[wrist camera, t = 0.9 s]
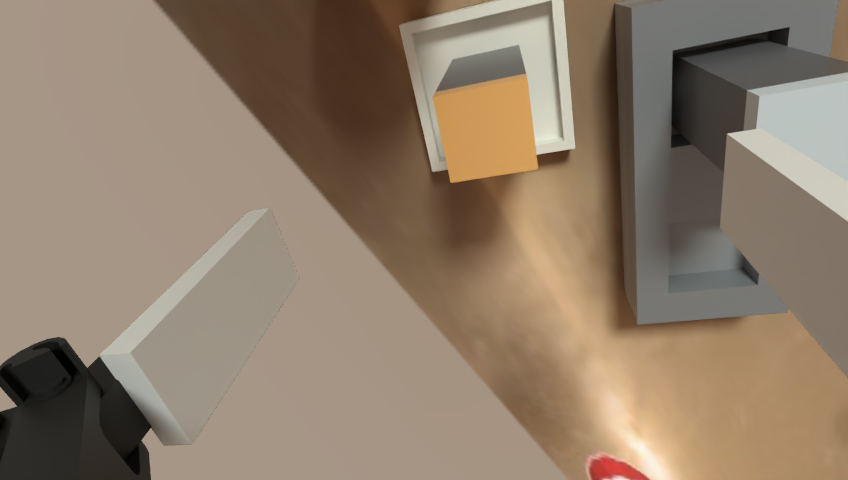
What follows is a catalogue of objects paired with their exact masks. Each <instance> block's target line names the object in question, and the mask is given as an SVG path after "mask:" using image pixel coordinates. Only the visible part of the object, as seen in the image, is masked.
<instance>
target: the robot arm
mask: <svg viewBox="0 0 848 480" xmlns="http://www.w3.org/2000/svg"><path fill="white" fill-rule="evenodd" d="M720 228H721V230H722V231H723V232H724V233H725V234H726V236H727V237H728V238H729V239H730V240H731V241H732V243H733V244H734V245H735V246H736V247H737V248H738V250H739V251H740V252H741V253H742V254H743V255H744V257H745V258H746V259H747V260H748V261H749V263H750V264H751V265H752V266H753V267H754V268H755V270H756V271H757V272H758V273H759V274H760V275H761V277H762V278H763V279H764V280H765V281H766V283H767V284H768V285H769V286H770V287H771V288H772V290H773V291H774V292H775V293H776V294H777V295H778V297H779V298H780V299H781V300H782V301H783V302H784V304H785V305H786V306H787V307H788V308H789V310H790V311H791V312H792V313H793V314H794V315H795V317H796V318H797V319H798V320H799V321H800V322H801V324H802V325H803V326H804V327H805V328H806V330H807V331H808V332H809V333H810V334H811V335H812V337H813V338H814V339H815V340H816V341H817V342H818V344H819V345H820V346H821V347H822V348H823V349H824V351H825V352H826V353H827V354H828V355H829V357H830V358H831V359H832V360H833V361H834V362H835V364H836V365H837V366H838V367H839V368H840V369H841V371H842V372H843V373H844V374H845V375H846V377H847V378H848V181H846V180H845V179H843V178H841V177H840V176H838V175H836V174H835V173H833V172H831V171H830V170H828V169H827V168H825V167H823V166H822V165H820V164H818V163H817V162H815V161H813V160H812V159H810V158H809V157H807V156H805V155H804V154H802V153H800V152H799V151H797V150H795V149H794V148H792V147H791V146H789V145H787V144H786V143H784V142H782V141H781V140H779V139H777V138H776V137H774V136H773V135H771V134H769V133H768V132H766V131H764V130H763V129H761V128H759V129H753V130H747V131H741V132H734V133H728V134H727V139H726V152H725V166H724V179H723V193H722V206H721V219H720ZM298 280H299V276H298V274H297V271H296V269H295V266H294V264H293V262H292V259H291V257H290V254H289V252H288V250H287V247H286V245H285V242H284V240H283V238H282V235H281V233H280V231H279V228H278V226H277V223H276V221H275V218H274V216H273V214H272V211H271V209H270V208H264V209H258V210H251V211H248V212H247V213H246V214H245V215H244V216H243V217H242V218H241V219H240V220H239V221H238V222H237V223H236V224H235V225H234V226H233V227H232V228H231V229H230V230H229V231H228V232H226V233H225V234H224V235H223V236H222V237H221V238H220V239H219V240H218V241H217V242H216V243H215V244H214V245H213V246H212V247H211V248H210V249H209V250H208V251H207V252H206V253H205V254H204V255H203V256H202V257H201V258H199V259H198V261H197V262H195V263H194V264H193V265H192V266H191V267H190V268H189V269H188V270H187V271H186V272H185V273H184V274H183V275H182V276H181V277H180V278H179V279H178V280H177V281H176V282H175V283H174V284H173V285H172V286H170V287H169V288H168V290H166V291H165V293H163V294H162V295H161V296H160V297H159V298H158V299H157V300H156V301H155V302H154V303H153V304H152V305H151V306H150V307H149V308H148V309H147V310H146V311H145V312H144V313H143V314H142V315H140V317H138V318H137V319H136V320H135V321H134V322H133V323H132V324H131V325H130V326H129V327H128V328H127V329H126V330H125V331H124V332H123V333H122V334H121V335H120V336H119V337H118V338H117V339H116V340H115V341H114V342H112V343H111V344H110V345H109V346H108V347H107V348H106V349H105V350H104V351H103V352H102V353H101V354H100V355H99V357H98V358H97V359H96V360H95V361H94V362H93V363H92V364H91V365H90V366H89V367H88V368H87V367H86V366H85V365H84V364H83V362H82V361H81V359H80V358H79V357H78V355H77V354H76V353H75V351H74V350H73V349H72V347H71V346H70V345H69V343H68V342H67V341H66V340H65V339H64V338H60V337H57V338H51V339H47V340H44V341H41V342H38V343H36V344H34V345H31V346H29V347H28V348H26V349H24V350H22V351H20V352H18V353H17V354H15V355H14V356H12V357H11V358H9V359H8V360H6V361H5V362H4V363H3V364H2V365H1V366H0V387H1V388H2V389H3V390H4V392H5V393H6V394H7V395H8V396H9V397H10V398H11V399H12V401H13V402H14V403H15V404H16V405H17V407H14V408H12V409H8V410H5V411H2V412H0V480H151V475H150V462H149V452H148V450H147V448H146V446H145V445H144V444H143V442H142V441H141V440H142V438H143V437H144V436H145V434H146V433H147V432H148V431H149V429H150V428H152V430H153V431H154V432H155V434H156V435H157V437H158V438H159V439H160V441H161V442H162V444H163V445H192V444H193V443H194V441H195V440H196V438H197V437H198V435H199V433H200V432H201V430H202V429H203V427H204V426H205V424H206V423H207V421H208V420H209V418H210V416H211V415H212V413H213V412H214V410H215V409H216V407H217V406H218V404H219V403H220V401H221V399H222V398H223V396H224V395H225V393H226V392H227V390H228V388H229V387H230V385H231V384H232V382H233V381H234V379H235V378H236V376H237V374H238V373H239V372H240V370H241V368H242V367H243V365H244V363H245V362H246V361H247V359H248V358H249V356H250V355H251V353H252V351H253V350H254V348H255V347H256V345H257V344H258V342H259V341H260V339H261V338H262V336H263V334H264V333H265V331H266V330H267V328H268V327H269V325H270V324H271V322H272V320H273V319H274V317H275V316H276V314H277V313H278V311H279V310H280V308H281V307H282V305H283V303H284V302H285V300H286V299H287V297H288V296H289V294H290V293H291V291H292V289H293V288H294V286H295V285H296V283H297V282H298Z"/></svg>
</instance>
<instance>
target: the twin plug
mask: <svg viewBox="0 0 848 480" xmlns="http://www.w3.org/2000/svg"><path fill="white" fill-rule="evenodd" d="M671 126H673V127H674V128H675V129H676V130H677V131H678V132H679V133H680V134H681V135H682V136H684V137H685V138H686V139H687V140H688V141H689V142H690V143H691V144H692V145H694V146H695V147H696V148H697V149H698V150H699V151H700V152H701V153H702V154H703V155H705V156H706V157H707V158H708V159H709V160H710V161H711V162H712V163H713V164H715V165H716V166H717V167H718V168H719V169H720V170H721V171H722V172H723V173H724V166H725V152H726V139H727V134H728V133H734V132H741V131H747V130H753V129H759V128H761V129H763V130H764V131H766V132H768V133H769V134H771V135H773V136H774V137H776V138H777V139H779V140H781V141H782V142H784V143H786V144H787V145H789V146H791V147H792V148H794V149H795V150H797V151H799V152H800V153H802V154H804V155H805V156H807V157H809V158H810V159H812V160H813V161H815V162H817V163H818V164H820V165H822V166H823V167H825V168H827V169H828V170H830V171H831V172H833V173H835V174H836V175H838V176H840V177H841V178H843V179H845V180H846V181H848V62H845V61H842V60H838V59H834V58H830V57H826V56H823V55H819V54H815V53H811V52H807V51H804V50H800V49H796V48H792V47H788V46H785V45H781V44H777V43H773V42H769V41H766V40H762V39H758V38H751V39H746V40H741V41H736V42H731V43H726V44H722V45H717V46H712V47H707V48H702V49H697V50H692V51H687V52H682V53H677V54H673V67H672V122H671Z"/></svg>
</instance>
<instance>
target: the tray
mask: <svg viewBox="0 0 848 480" xmlns="http://www.w3.org/2000/svg"><path fill="white" fill-rule="evenodd" d="M399 29H400V33H401V37H402V42H403V46H404V50H405V55H406V59H407V63H408V68H409V72H410V76H411V81H412V85H413V89H414V94H415V98H416V102H417V107H418V111H419V115H420V120H421V124H422V128H423V133H424V137H425V142H426V146H427V150H428V155H429V159H430V163H431V168H432V172H436V171H442V170H448V168H447V163H446V159H445V154H444V149H443V145H442V140H441V135H440V131H439V126H438V121H437V116H436V112H435V107H434V102H433V98H432V97H433V95H434V93H435V92H436V90H437V88H438V86H439V84H440V82H441V80H442V78H443V76H444V75H445V73H446V71H447V69H448V67H449V65H450V63H451V61H452V59H457V58H461V57H466V56H470V55H475V54H479V53H484V52H488V51H493V50H498V49H502V48H507V47H511V46H516V45H519V47H520V51H521V55H522V59H523V63H524V67H525V71H526V75H527V79H528V87H529V96H530V104H531V113H532V121H533V129H534V138H535V146H536V154H537V155H538V154H544V153H550V152H556V151H562V150H568V149H575V141H574V128H573V116H572V103H571V90H570V78H569V65H568V53H567V40H566V28H565V15H564V2H563V0H494V1H490V2H486V3H482V4H478V5H474V6H470V7H466V8H461V9H457V10H453V11H449V12H445V13H441V14H437V15H433V16H429V17H424V18H420V19H416V20H412V21H408V22H404V23H402V24H400V25H399Z"/></svg>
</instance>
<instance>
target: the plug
mask: <svg viewBox="0 0 848 480" xmlns="http://www.w3.org/2000/svg"><path fill="white" fill-rule="evenodd" d="M432 98H433V102H434V107H435V112H436V116H437V121H438V126H439V131H440V135H441V140H442V145H443V149H444V154H445V159H446V163H447V168H448V173H449V177H450V182H451V183H454V182H461V181H467V180H473V179H480V178H486V177H492V176H498V175H505V174H511V173H517V172H524V171H530V170H536V169H538V163H537V154H536V146H535V138H534V129H533V121H532V113H531V104H530V96H529V87H528V79H527V75H526V71H525V67H524V63H523V59H522V55H521V51H520V47H519V45H516V46H511V47H507V48H502V49H498V50H493V51H488V52H484V53H479V54H475V55H470V56H466V57H461V58H457V59H452V61H451V63H450V65H449V67H448V69H447V71H446V73H445V75H444V76H443V78H442V80H441V82H440V84H439V86H438V88H437V90H436V92H435V93H434V95H433V97H432Z"/></svg>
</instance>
